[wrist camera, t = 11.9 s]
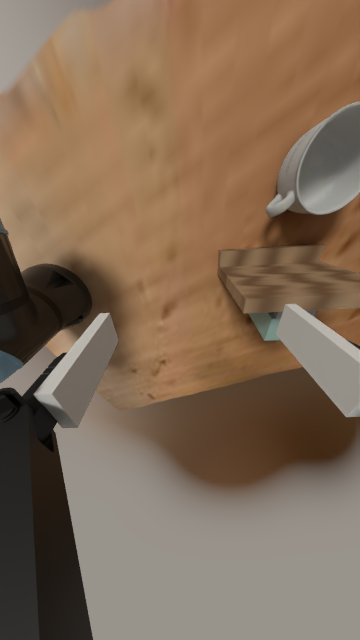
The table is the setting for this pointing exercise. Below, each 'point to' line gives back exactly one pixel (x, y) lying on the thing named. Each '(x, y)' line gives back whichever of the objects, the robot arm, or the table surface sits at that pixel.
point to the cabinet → (270, 323)
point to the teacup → (321, 167)
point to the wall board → (286, 279)
